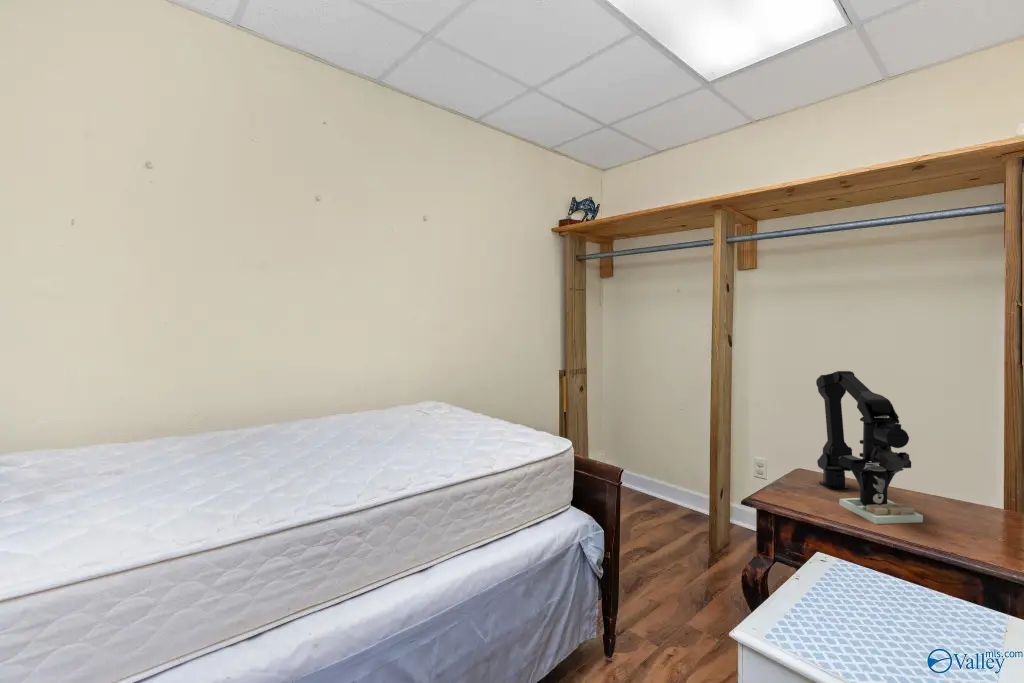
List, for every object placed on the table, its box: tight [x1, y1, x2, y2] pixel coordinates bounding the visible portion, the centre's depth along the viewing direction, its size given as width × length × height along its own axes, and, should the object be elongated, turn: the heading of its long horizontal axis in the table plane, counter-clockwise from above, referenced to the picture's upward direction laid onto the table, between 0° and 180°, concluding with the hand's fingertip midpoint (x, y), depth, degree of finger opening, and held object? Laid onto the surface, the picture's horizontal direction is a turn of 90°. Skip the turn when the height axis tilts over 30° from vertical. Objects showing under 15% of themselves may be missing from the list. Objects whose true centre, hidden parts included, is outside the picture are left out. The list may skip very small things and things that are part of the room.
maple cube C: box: [893, 503, 915, 515], centre depth 137 cm, size 4×4×4 cm
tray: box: [839, 497, 924, 525], centre depth 140 cm, size 14×14×2 cm
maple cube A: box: [866, 505, 888, 516], centre depth 136 cm, size 4×4×4 cm
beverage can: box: [859, 465, 889, 506], centre depth 142 cm, size 7×7×12 cm
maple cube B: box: [880, 504, 901, 515], centre depth 136 cm, size 4×4×4 cm
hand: (873, 489), depth 142 cm, fingers closed on beverage can, 7 cm apart
